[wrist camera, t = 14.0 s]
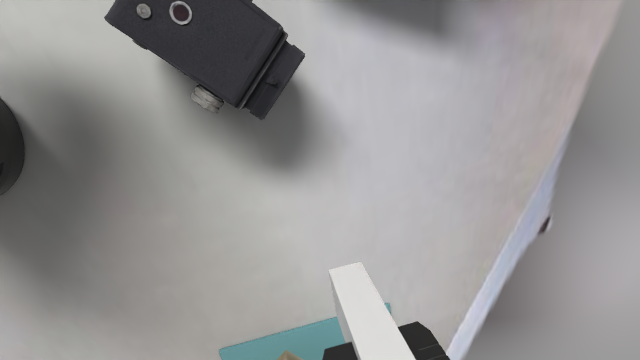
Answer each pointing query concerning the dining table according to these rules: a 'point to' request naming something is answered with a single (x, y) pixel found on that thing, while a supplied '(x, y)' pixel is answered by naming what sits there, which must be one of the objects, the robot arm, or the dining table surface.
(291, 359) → the light brown rectangular block
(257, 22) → the camera
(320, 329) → the mat
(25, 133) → the dining table surface
